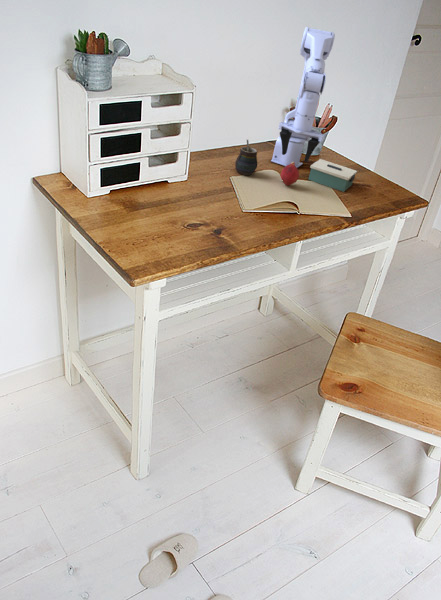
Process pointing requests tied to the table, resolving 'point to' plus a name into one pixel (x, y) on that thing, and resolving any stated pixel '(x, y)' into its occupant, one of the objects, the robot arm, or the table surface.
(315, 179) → the lunchbox
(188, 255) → the table surface
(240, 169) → the mate gourd
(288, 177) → the onion
